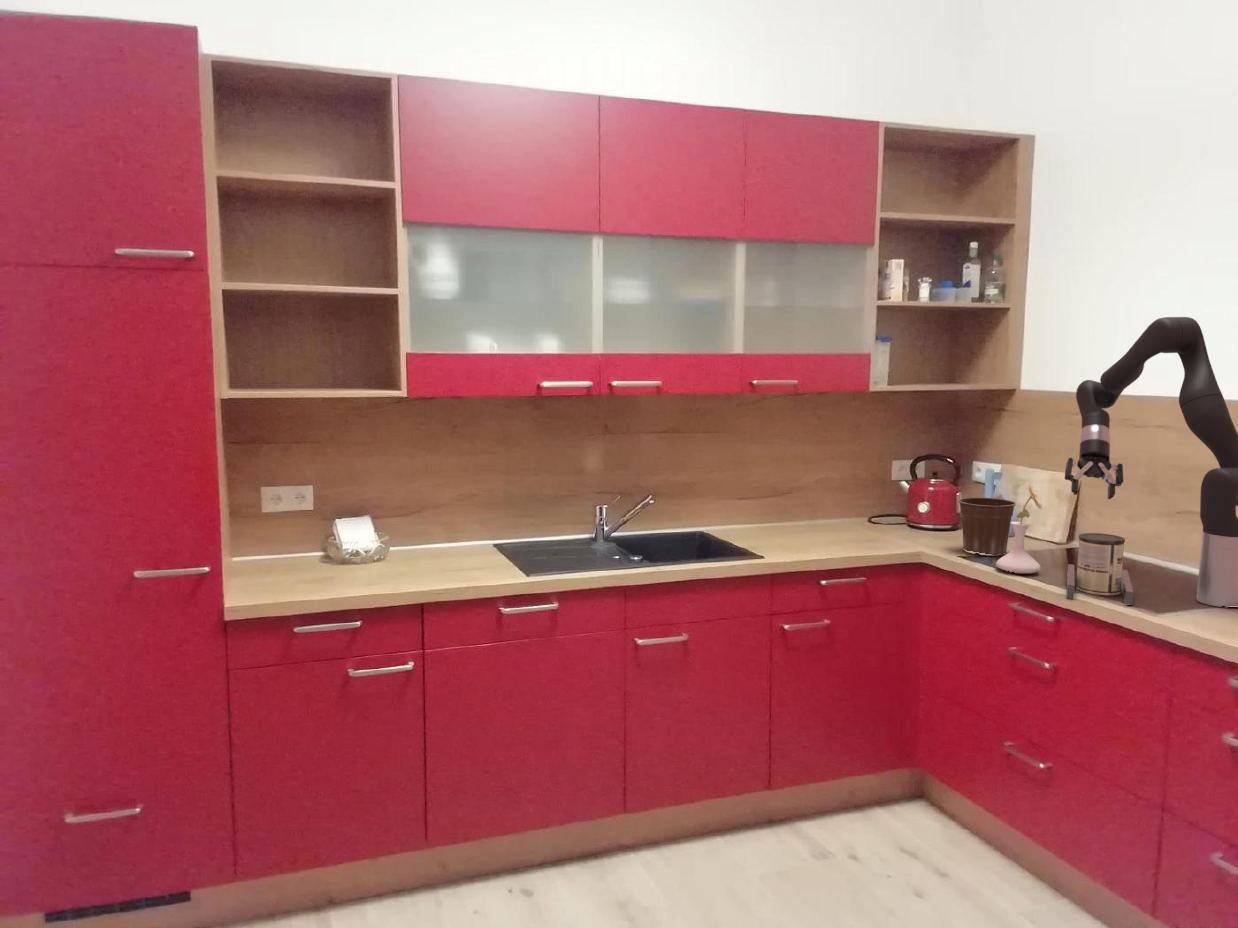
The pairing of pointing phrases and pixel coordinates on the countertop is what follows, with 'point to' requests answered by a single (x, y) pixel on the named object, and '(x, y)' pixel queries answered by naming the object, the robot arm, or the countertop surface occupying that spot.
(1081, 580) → the coffee can
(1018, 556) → the flower in vase
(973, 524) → the plant pot
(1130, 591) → the grey frame
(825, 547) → the countertop surface
